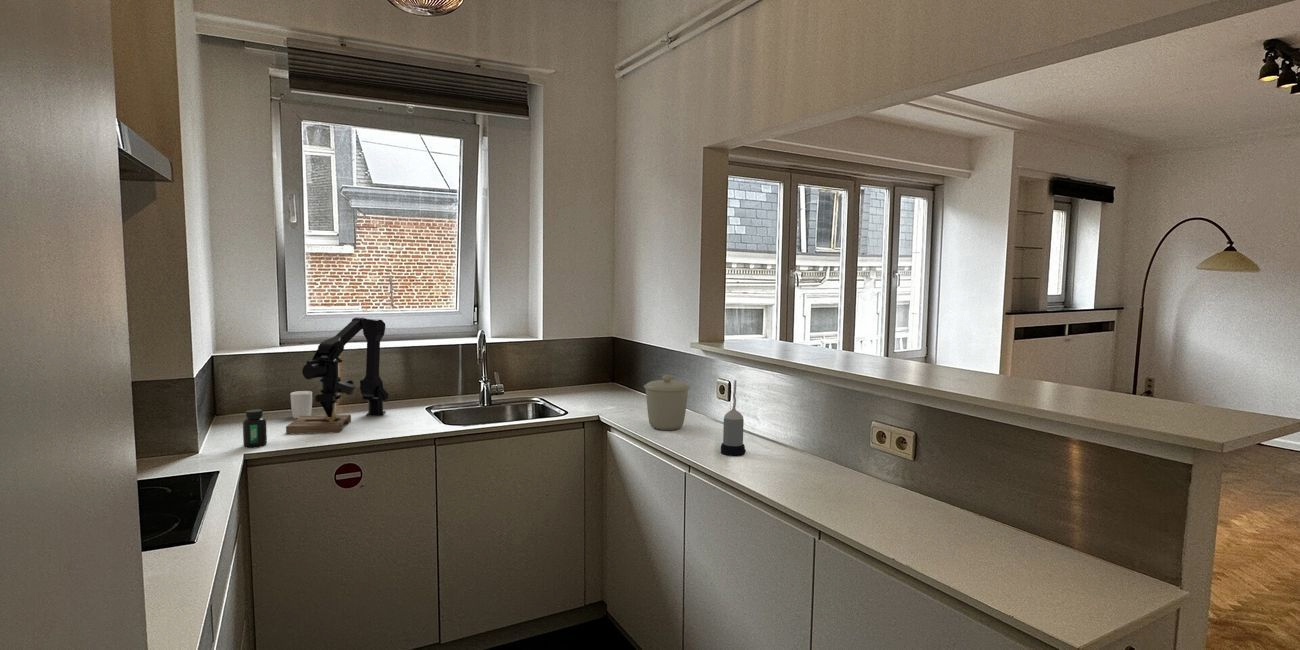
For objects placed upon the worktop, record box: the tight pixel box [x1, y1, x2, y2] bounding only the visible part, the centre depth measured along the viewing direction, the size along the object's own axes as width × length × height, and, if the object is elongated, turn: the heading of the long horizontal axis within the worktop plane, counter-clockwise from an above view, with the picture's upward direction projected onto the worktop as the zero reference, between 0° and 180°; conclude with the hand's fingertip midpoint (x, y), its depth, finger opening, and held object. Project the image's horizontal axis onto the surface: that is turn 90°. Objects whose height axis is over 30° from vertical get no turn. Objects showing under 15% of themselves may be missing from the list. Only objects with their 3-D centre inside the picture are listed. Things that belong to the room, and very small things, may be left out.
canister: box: [643, 373, 691, 431], centre depth 257 cm, size 18×18×21 cm
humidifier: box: [720, 379, 747, 457], centre depth 221 cm, size 8×8×25 cm
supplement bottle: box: [242, 408, 268, 449], centre depth 222 cm, size 7×7×12 cm
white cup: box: [289, 390, 313, 419], centre depth 265 cm, size 8×8×10 cm
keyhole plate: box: [285, 413, 352, 435], centre depth 249 cm, size 18×18×3 cm
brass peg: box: [324, 402, 338, 422], centre depth 249 cm, size 4×4×9 cm
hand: (331, 415), depth 249 cm, fingers closed on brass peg, 3 cm apart
